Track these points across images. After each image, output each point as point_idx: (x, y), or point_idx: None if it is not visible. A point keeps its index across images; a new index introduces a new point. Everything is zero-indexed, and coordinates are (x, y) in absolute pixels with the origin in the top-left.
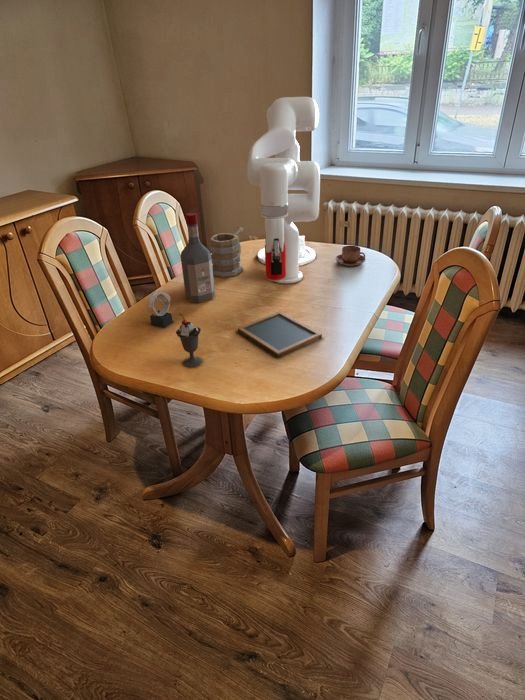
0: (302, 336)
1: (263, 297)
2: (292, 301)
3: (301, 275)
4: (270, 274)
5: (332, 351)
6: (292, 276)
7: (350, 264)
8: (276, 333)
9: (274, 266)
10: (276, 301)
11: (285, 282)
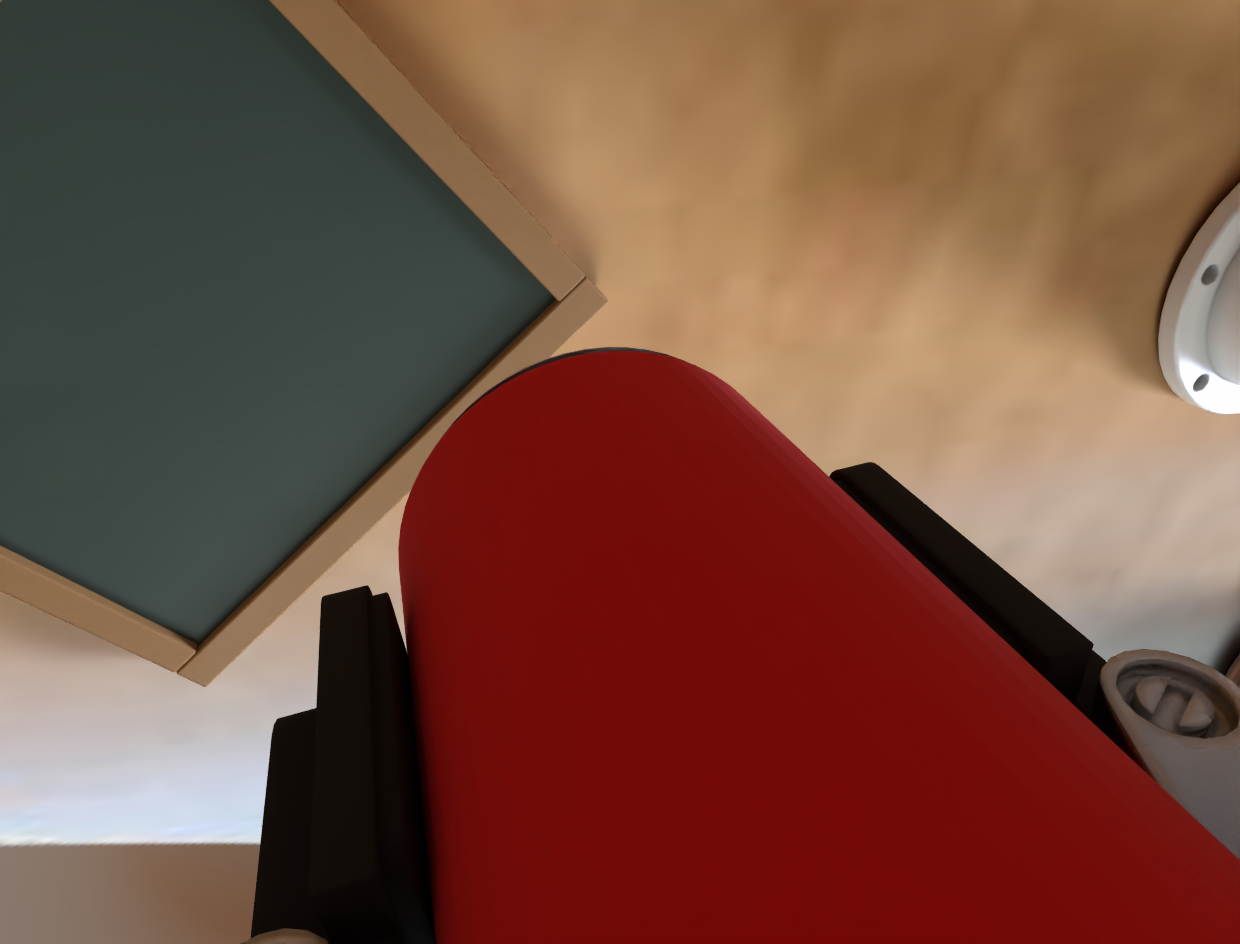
0: (133, 553)
1: (981, 86)
2: (850, 372)
3: (1229, 407)
4: (422, 535)
5: (14, 750)
6: (1225, 351)
7: (1232, 679)
8: (124, 315)
9: (265, 875)
10: (875, 230)
11: (1178, 285)
